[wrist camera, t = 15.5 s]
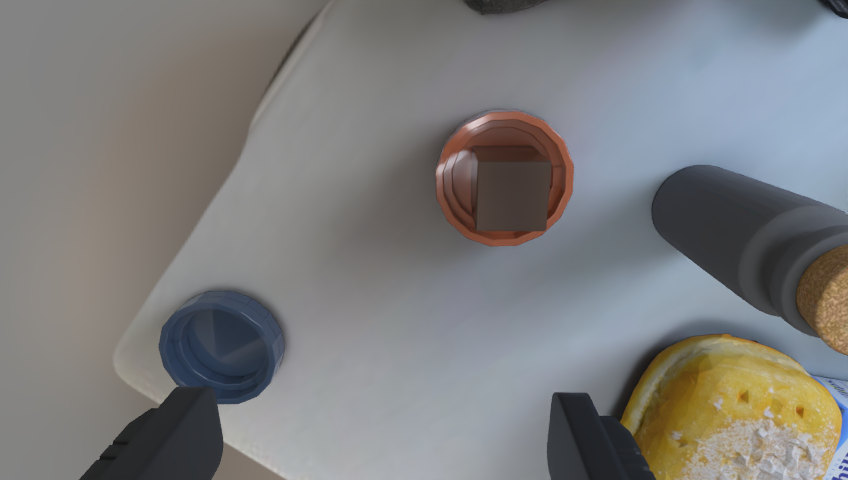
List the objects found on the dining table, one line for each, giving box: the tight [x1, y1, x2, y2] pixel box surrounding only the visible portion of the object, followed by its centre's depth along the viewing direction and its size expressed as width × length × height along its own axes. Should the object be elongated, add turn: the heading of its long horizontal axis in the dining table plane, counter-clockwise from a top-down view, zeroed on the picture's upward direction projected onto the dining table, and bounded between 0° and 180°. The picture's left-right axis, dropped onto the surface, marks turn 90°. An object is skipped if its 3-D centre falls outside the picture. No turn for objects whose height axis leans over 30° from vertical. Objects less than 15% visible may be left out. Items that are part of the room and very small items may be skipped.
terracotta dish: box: [435, 109, 574, 246], centre depth 32 cm, size 9×9×3 cm
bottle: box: [652, 165, 848, 355], centre depth 26 cm, size 6×6×15 cm
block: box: [471, 146, 552, 231], centre depth 29 cm, size 4×4×6 cm
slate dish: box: [159, 291, 284, 404], centre depth 37 cm, size 9×9×3 cm
